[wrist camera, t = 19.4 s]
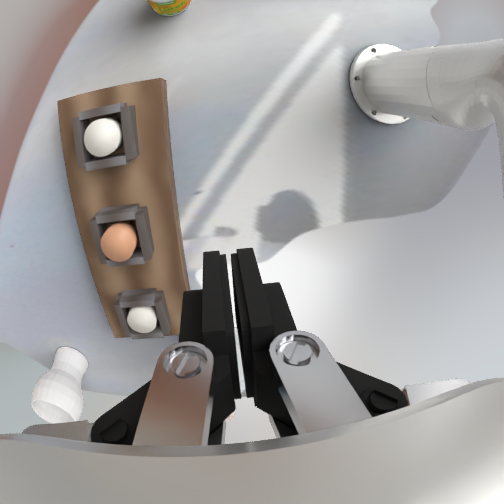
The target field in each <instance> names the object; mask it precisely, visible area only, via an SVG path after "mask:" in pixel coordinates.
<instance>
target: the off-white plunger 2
mask: <svg viewBox="0 0 504 504" xmlns="http://www.w3.org/2000/svg"><path fill="white" fill-rule="evenodd" d="M157 317H158V316H157V312H156V308H155V306H143V307H130V310H129V314H128V317H127V322H128V325H129V326H130V327H131V328H132V329H133V330H134V331H136V332H139V333H149V332H151V331H153V330H154V329H155V327H156V322H157Z"/></svg>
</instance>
